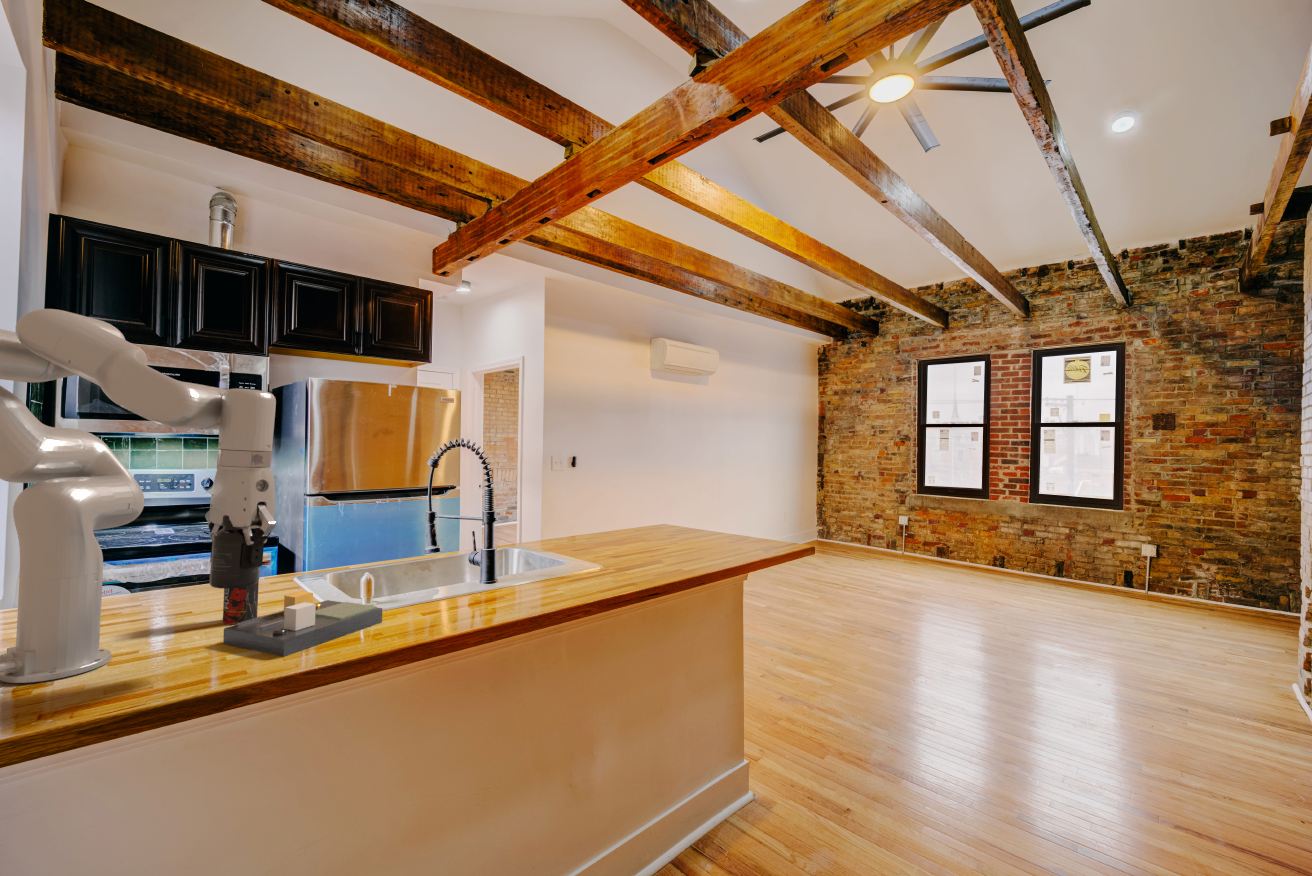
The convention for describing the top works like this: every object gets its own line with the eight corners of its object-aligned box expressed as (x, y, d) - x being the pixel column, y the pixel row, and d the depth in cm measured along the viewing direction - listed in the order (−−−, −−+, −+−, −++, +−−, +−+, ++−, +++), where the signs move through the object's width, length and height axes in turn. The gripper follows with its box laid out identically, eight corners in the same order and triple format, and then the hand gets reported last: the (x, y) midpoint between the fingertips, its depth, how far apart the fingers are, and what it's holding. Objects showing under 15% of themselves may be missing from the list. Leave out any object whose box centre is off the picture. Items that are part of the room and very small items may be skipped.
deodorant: (263, 617, 122) (266, 548, 122) (241, 625, 116) (244, 553, 116) (239, 615, 123) (242, 547, 123) (215, 624, 117) (218, 552, 117)
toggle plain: (295, 630, 104) (296, 609, 104) (283, 628, 105) (284, 607, 105) (314, 624, 108) (315, 604, 108) (303, 622, 109) (304, 602, 109)
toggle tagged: (294, 617, 112) (295, 597, 113) (283, 615, 113) (284, 595, 114) (312, 612, 116) (313, 592, 116) (302, 610, 117) (302, 591, 117)
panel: (283, 656, 100) (284, 636, 100) (223, 644, 105) (223, 625, 105) (382, 622, 120) (382, 605, 120) (327, 613, 126) (327, 597, 126)
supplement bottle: (243, 577, 100) (248, 510, 100) (268, 583, 97) (273, 514, 97) (199, 585, 93) (205, 513, 94) (225, 591, 91) (231, 517, 91)
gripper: (301, 464, 96) (293, 567, 96) (233, 458, 102) (225, 555, 102) (257, 464, 89) (248, 575, 89) (187, 457, 95) (178, 562, 95)
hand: (236, 563), depth 95 cm, fingers closed on supplement bottle, 6 cm apart
